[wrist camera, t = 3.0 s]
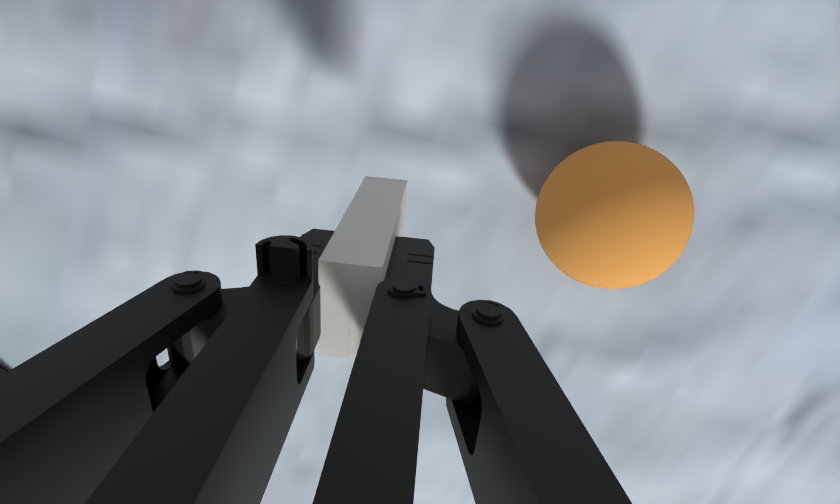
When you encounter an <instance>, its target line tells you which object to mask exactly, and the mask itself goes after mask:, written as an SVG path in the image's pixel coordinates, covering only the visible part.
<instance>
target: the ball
mask: <svg viewBox="0 0 840 504" xmlns="http://www.w3.org/2000/svg"><path fill="white" fill-rule="evenodd" d="M693 221H694V204H693V198H692V195H691V191H690V188H689V186H688V184H687V182H686V180H685V178H684V176H683V175H682V173H681V172H680V171H679V169H678V168H677V167H676V166H675V165H674V164H673V163H672V162H671V161H670V160H669V159H668V158H666V157H665V156H664V155H662V154H661V153H659V152H657V151H655V150H653V149H651V148H649V147H647V146H644V145H641V144H637V143H632V142H625V141H609V142H601V143H597V144H593V145H590V146H587V147H584V148H582V149H580V150H578V151H576V152H574V153H573V154H571V155H569V156H568V157H566V158H565V159H564V160H563V161H561V162H560V163H559V164H558V165H557V166H556V167H555V168H554V169H553V171H552V172H551V173H550V174H549V176H548V177H547V179H546V181H545V182H544V184H543V186H542V188H541V190H540V193H539V196H538V199H537V203H536V210H535V224H536V231H537V235H538V238H539V241H540V244H541V246H542V248H543V250H544V251H545V253H546V255H547V256H548V258H549V259H550V260H551V261H552V263H553V264H554V265H555V266H556V267H557V268H558V269H559V270H561V271H562V272H563V273H564V274H566V275H567V276H569V277H571V278H572V279H574V280H576V281H578V282H581V283H583V284H586V285H589V286H593V287H599V288H606V289H618V288H626V287H631V286H635V285H639V284H642V283H644V282H647V281H649V280H651V279H653V278H655V277H657V276H658V275H660V274H661V273H663V272H664V271H665V270H666V269H668V268H669V267H670V266H671V265H672V264H673V263H674V262H675V261H676V259H677V258H678V257H679V256H680V254H681V253H682V251H683V249H684V248H685V246H686V244H687V242H688V240H689V238H690V235H691V231H692V227H693Z"/></svg>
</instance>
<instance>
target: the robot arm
mask: <svg viewBox="0 0 840 504" xmlns="http://www.w3.org/2000/svg"><path fill="white" fill-rule="evenodd" d="M406 192H407V181H406V180H396V179H387V178H377V177H367V176H365V178H364V180H363V182H362V184H361V185H360V187H359V189H358V191H357V192H356V194H355V196H354V198H353V200H352V201H351V203H350V205H349V207H348V208H347V210H346V212H345V214H344V216H343V217H342V219H341V221H340V223H339V224H338V226H337V228H336V230H335V231H329V230H320V229H312V230H310V231H308V232H307V233H305V234H303V235H302V236H301V237H296V236H282V235H281V236H274V237H269V238H266V239H263V240H261V241H259V242H258V243H257V244H255V246H256V259H257V272H258V276H257V277H256V278H255V280H254V281H253V282H252V284H251V285H250V286H249V287H242V288H229V289H221V282H220V279H219V278H218V277H217V276H216V275H214V274H212V273H209V272H202V271H185V272H183V273H179V274H175V275H172V276H170V277H168V278H166V279H164V280H162V281H160V282H159V283H157V284H155V285H154V286H152V287H150V288H149V289H147V290H145V291H143V292H142V293H140V294H138V295H137V296H135V297H133V298H132V299H130V300H128V301H127V302H125V303H123V304H122V305H120V306H118V307H116V308H115V309H113V310H111V311H110V312H108V313H106V314H105V315H103V316H101V317H100V318H98V319H96V320H94V321H93V322H91V323H89V324H88V325H86V326H84V327H83V328H81V329H79V330H78V331H76V332H74V333H73V334H71V335H69V336H67V337H66V338H64V339H62V340H61V341H59V342H57V343H56V344H54V345H52V346H51V347H49V348H47V349H46V350H44V351H42V352H40V353H39V354H37V355H35V356H34V357H32V358H30V359H29V360H27V361H25V362H24V363H22V364H20V365H19V366H17V367H15V368H13V369H12V370H10V371H8V372H6V371H5V370H3V369H1V368H0V504H260V502H261V500H262V497H263V495H264V492H265V490H266V487H267V484H268V482H269V479H270V477H271V474H272V472H273V469H274V467H275V464H276V462H277V459H278V457H279V454H280V452H281V449H282V447H283V444H284V442H285V439H286V437H287V434H288V432H289V429H290V427H291V424H292V421H293V419H294V416H295V414H296V411H297V409H298V406H299V404H300V401H301V399H302V396H303V394H304V391H305V389H306V386H307V384H308V381H309V379H310V376H311V374H312V371H313V369H314V349H315V347H316V345H317V342H318V340H319V355H328V356H337V357H346V358H355V361H354V365H353V368H352V371H351V375H350V378H349V382H348V385H347V388H346V392H345V395H344V399H343V402H342V405H341V409H340V412H339V416H338V419H337V422H336V426H335V429H334V433H333V436H332V439H331V443H330V446H329V450H328V453H327V456H326V460H325V463H324V467H323V470H322V473H321V477H320V480H319V484H318V487H317V490H316V494H315V497H314V501H313V504H413V499H414V488H415V476H416V465H417V453H418V441H419V430H420V418H421V407H422V395H423V389H426V390H428V391H431V392H434V393H436V394H439V395H442V396H444V397H446V406H447V409H448V413H449V416H450V419H451V423H452V426H453V429H454V433H455V436H456V439H457V443H458V446H459V449H460V453H461V456H462V459H463V463H464V466H465V469H466V473H467V476H468V479H469V483H470V486H471V489H472V493H473V496H474V499H475V503H476V504H632V503H631V501H630V499H629V498H628V496H627V495H626V493H625V491H624V490H623V488H622V486H621V485H620V483H619V482H618V480H617V478H616V477H615V475H614V473H613V472H612V470H611V469H610V467H609V465H608V464H607V462H606V460H605V459H604V457H603V456H602V454H601V452H600V451H599V449H598V447H597V446H596V444H595V443H594V441H593V439H592V438H591V436H590V434H589V433H588V431H587V430H586V428H585V426H584V425H583V423H582V421H581V420H580V418H579V417H578V415H577V413H576V412H575V410H574V408H573V407H572V405H571V404H570V402H569V400H568V399H567V397H566V395H565V394H564V392H563V391H562V389H561V387H560V386H559V384H558V382H557V381H556V379H555V378H554V376H553V374H552V373H551V371H550V369H549V368H548V366H547V365H546V363H545V361H544V360H543V358H542V356H541V355H540V353H539V352H538V350H537V348H536V347H535V345H534V343H533V342H532V340H531V339H530V337H529V335H528V334H527V332H526V330H525V329H524V327H523V326H522V324H521V322H520V321H519V319H518V317H517V316H516V314H515V313H514V312H513V311H512V310H511V309H509V308H508V307H506V306H504V305H502V304H500V303H497V302H494V301H490V300H475V301H470V302H468V303H466V304H463V305H462V307H461V308H460V310H459V311H457V310H454V309H451V308H448V307H446V306H444V305H442V304H441V303H439V302H438V301H437V300H436V299H435V298H434V297H433V295H432V293H431V283H432V271H433V259H434V247H433V245H432V244H431V243H430V241H429V240H426V239H417V238H407V237H403V231H404V218H405V205H406ZM166 348H167V350H168V355H169V361H168V362H166V363H165V364H164V365H162V366H160V367H159V366H158V365H157V360H156V356H157V355H158V354H159V353H161V352H162V351H163V350H165V349H166Z"/></svg>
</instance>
